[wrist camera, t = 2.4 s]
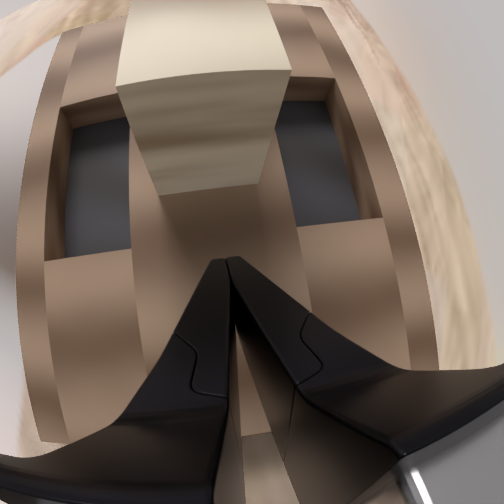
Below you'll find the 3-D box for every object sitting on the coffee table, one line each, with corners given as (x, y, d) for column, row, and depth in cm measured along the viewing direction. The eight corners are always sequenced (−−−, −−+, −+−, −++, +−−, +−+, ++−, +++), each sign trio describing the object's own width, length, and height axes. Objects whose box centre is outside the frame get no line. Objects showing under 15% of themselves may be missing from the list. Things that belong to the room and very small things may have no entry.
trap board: (411, 373, 17) (439, 377, 14) (63, 427, 14) (40, 441, 11) (313, 31, 23) (321, 7, 20) (71, 55, 20) (62, 32, 17)
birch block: (258, 183, 16) (291, 69, 8) (158, 195, 15) (115, 86, 7) (232, 52, 18) (243, -49, 10) (156, 60, 17) (142, -41, 9)
